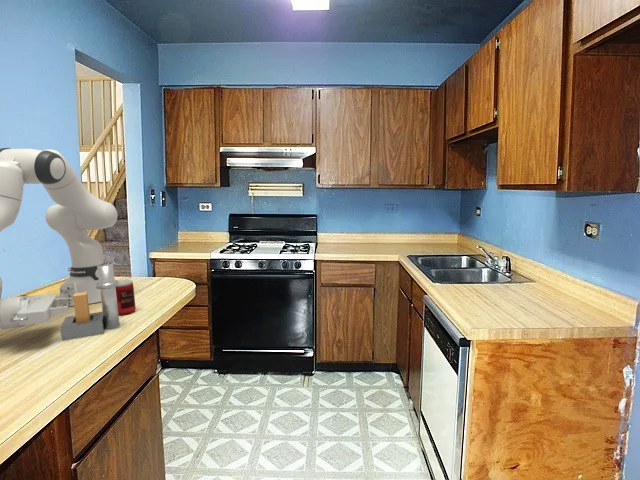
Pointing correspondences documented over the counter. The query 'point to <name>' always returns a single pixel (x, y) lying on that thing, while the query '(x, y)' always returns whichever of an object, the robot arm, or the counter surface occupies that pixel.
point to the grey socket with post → (99, 319)
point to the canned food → (125, 297)
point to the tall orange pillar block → (81, 307)
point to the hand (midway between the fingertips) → (70, 304)
